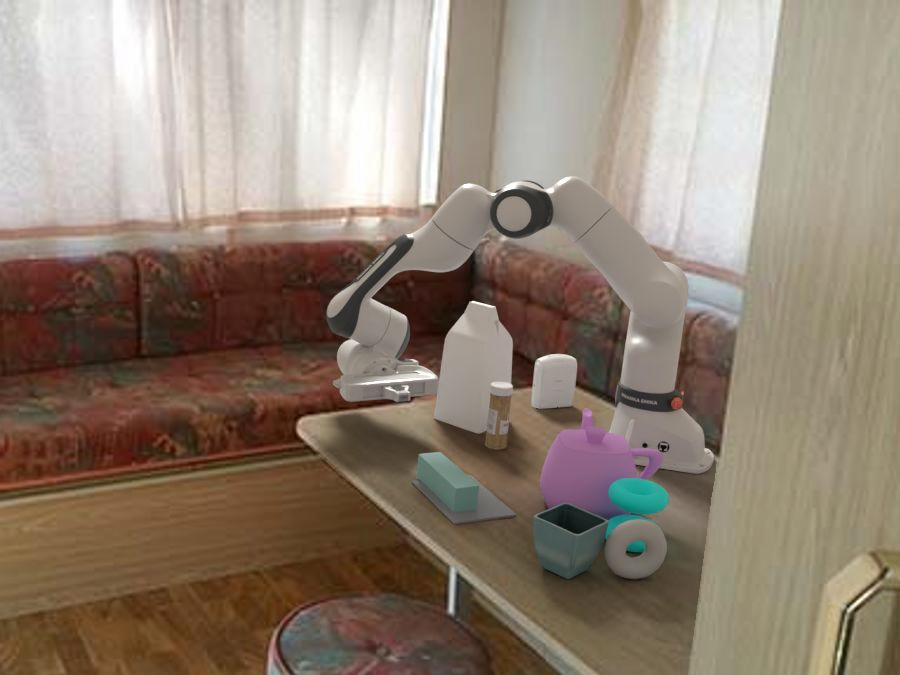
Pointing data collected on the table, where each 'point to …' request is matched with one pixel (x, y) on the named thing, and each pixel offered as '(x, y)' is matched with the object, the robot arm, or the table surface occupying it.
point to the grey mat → (486, 510)
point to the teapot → (591, 468)
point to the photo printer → (554, 381)
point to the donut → (628, 535)
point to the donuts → (636, 503)
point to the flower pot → (568, 539)
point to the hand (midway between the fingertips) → (403, 397)
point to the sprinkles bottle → (498, 415)
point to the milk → (472, 367)
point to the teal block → (447, 482)
